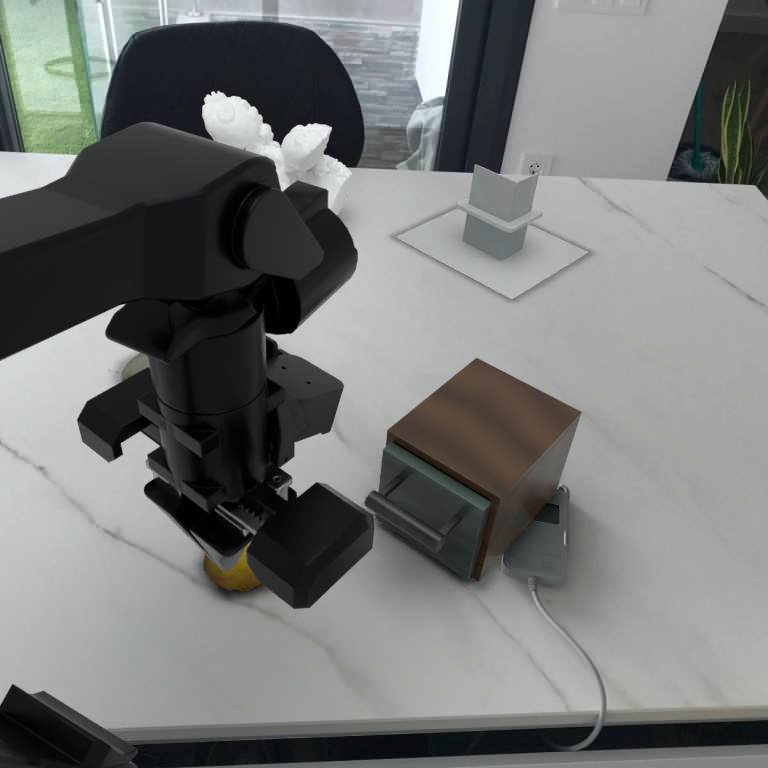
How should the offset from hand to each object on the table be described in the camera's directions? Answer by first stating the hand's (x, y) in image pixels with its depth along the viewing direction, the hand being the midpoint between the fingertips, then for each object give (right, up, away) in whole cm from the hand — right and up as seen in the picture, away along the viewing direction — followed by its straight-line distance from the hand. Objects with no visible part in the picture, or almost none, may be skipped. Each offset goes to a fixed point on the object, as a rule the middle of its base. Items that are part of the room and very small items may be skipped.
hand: (227, 564), depth 50 cm
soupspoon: (-8, +11, +33) cm, 35 cm away
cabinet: (+18, 0, +23) cm, 29 cm away
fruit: (0, -4, +16) cm, 17 cm away
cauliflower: (-5, +35, +62) cm, 71 cm away
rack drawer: (+16, -1, +20) cm, 26 cm away
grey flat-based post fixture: (+26, +31, +62) cm, 74 cm away
